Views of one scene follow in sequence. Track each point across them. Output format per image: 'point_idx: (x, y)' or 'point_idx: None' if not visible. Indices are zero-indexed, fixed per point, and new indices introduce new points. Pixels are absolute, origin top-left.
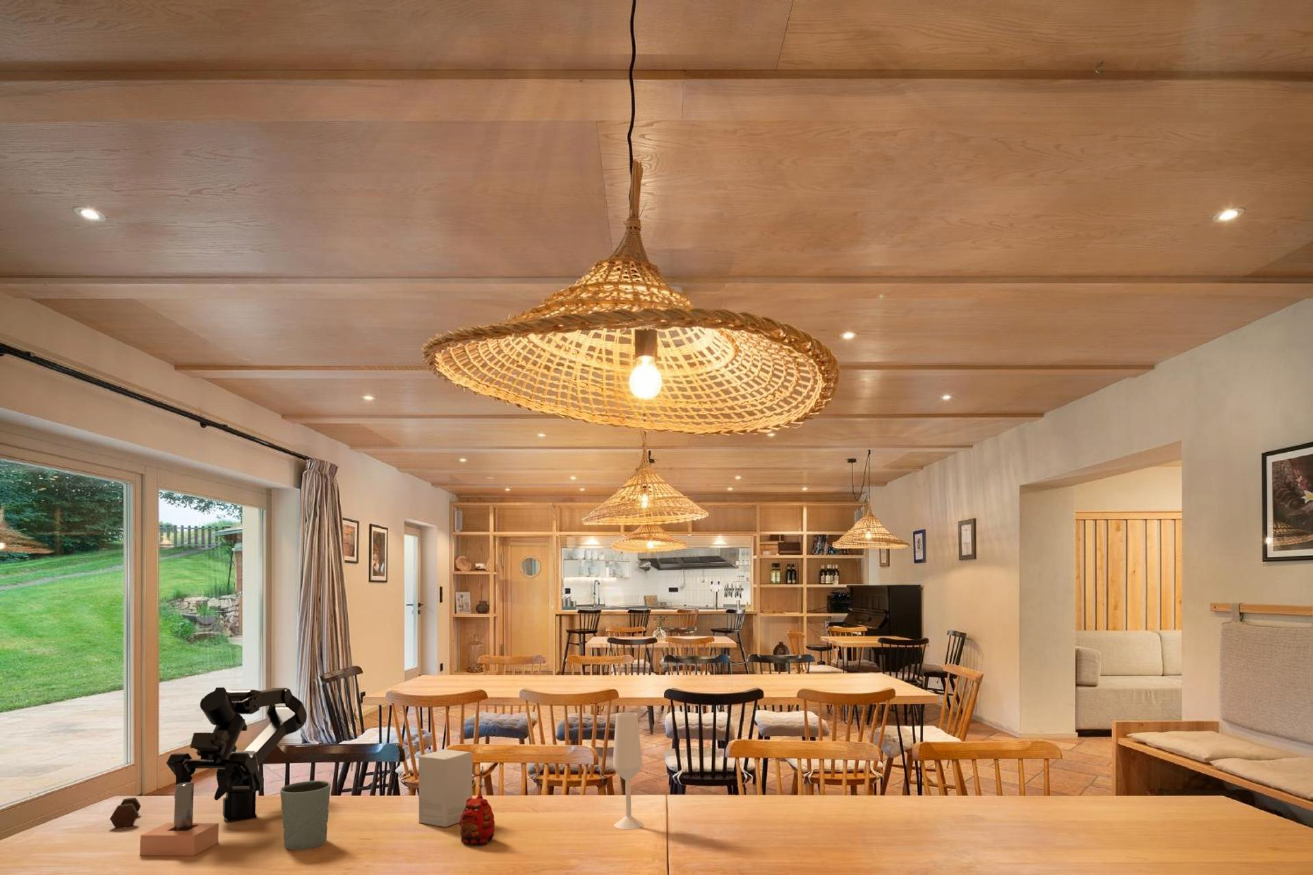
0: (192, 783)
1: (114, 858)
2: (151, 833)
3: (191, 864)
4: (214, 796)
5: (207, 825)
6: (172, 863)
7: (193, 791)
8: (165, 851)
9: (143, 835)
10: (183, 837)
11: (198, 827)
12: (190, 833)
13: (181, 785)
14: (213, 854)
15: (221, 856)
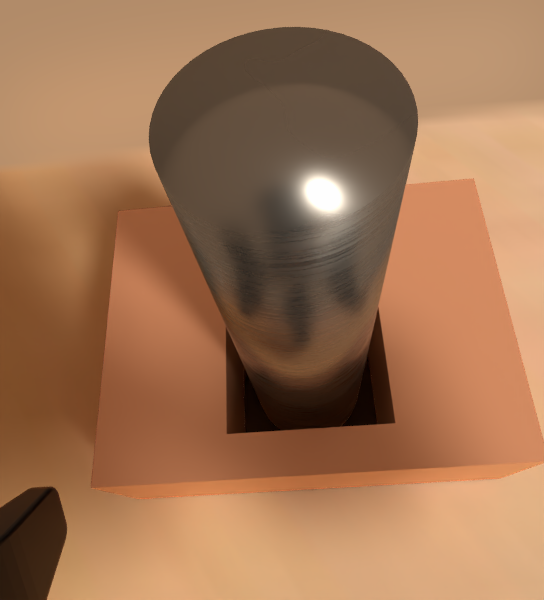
0: (185, 178)
1: (536, 189)
2: (432, 216)
3: (98, 167)
4: (46, 493)
5: (151, 420)
6: None
7: (186, 237)
8: None
9: (453, 182)
10: None
11: (191, 365)
12: (167, 241)
13: (290, 75)
14: (61, 292)
15: (8, 270)
